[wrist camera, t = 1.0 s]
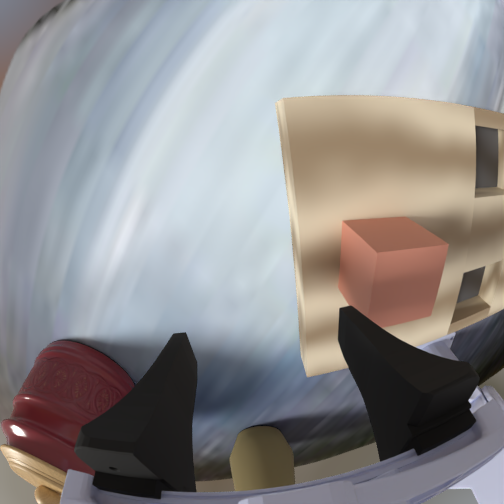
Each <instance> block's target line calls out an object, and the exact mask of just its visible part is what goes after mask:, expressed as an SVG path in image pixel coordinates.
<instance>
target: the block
mask: <svg viewBox="0 0 504 504" xmlns="http://www.w3.org/2000/svg"><path fill="white" fill-rule="evenodd" d="M448 246H449V244H448V243H446V242H445V241H443V240H442V239H440V238H439V237H437V236H436V235H434V234H433V233H431V232H430V231H428V230H426V229H425V228H423V227H422V226H420V225H419V224H417V223H415V222H414V221H412V220H410V219H409V218H407V217H390V218H374V219H359V220H345V221H342V237H341V255H340V269H339V282H338V289H339V290H340V292H341V293H342V295H343V297H344V298H345V300H346V302H347V303H348V305H349V306H350V305H352V306H353V307H354V308H356V309H357V310H358V311H360V312H361V313H362V314H363V315H365V316H366V317H367V318H369V319H370V320H371V321H373V322H374V323H376V324H377V325H378V326H380V327H381V328H384V327H388V326H393V325H397V324H401V323H406V322H410V321H414V320H418V319H422V318H425V317H429V316H431V314H432V310H433V307H434V304H435V300H436V297H437V293H438V289H439V286H440V282H441V278H442V274H443V269H444V265H445V260H446V256H447V251H448Z"/></svg>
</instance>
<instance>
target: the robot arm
mask: <svg viewBox="0 0 504 504" xmlns="http://www.w3.org/2000/svg"><path fill="white" fill-rule="evenodd" d="M454 337H455V332H453V333H451V334H448V335H446V336H443V337H441V338H438V339H436V340H433V341H431V342H428V343H425V344H423V345H420V346H417V347H414V346H412V345H410V344H408V343H406V342H404V341H402V340H400V339H399V338H397V337H395V336H394V335H392V334H390V333H389V332H387V331H386V330H384V329H383V328H381V327H380V326H378V325H377V324H376V323H374V322H373V321H371V320H370V319H369V318H367V317H366V316H365V315H363V314H362V313H361V312H360V311H358V310H357V309H356V308H354V307H353V306H352V305H350V306H346V307H341V308H339V326H338V342H339V345H340V348H341V351H342V354H343V357H344V359H345V361H346V363H347V365H348V367H349V370H350V372H351V374H352V376H353V378H354V380H355V382H356V384H357V386H358V388H359V390H360V392H361V394H362V397H363V399H364V402H365V405H366V408H367V411H368V415H369V418H370V421H371V425H372V428H373V432H374V436H375V440H376V443H377V448H378V453H379V458H380V462H378V463H375V464H373V465H370V466H366V467H364V468H360V469H357V470H354V471H351V472H347V473H343V474H340V475H336V476H332V477H328V478H324V479H320V480H315V481H310V482H305V483H300V484H294V485H288V486H282V487H275V488H267V489H258V490H248V491H234V492H196V484H195V476H194V465H193V448H192V420H193V411H194V403H195V395H196V387H197V361H196V358H195V356H194V353H193V350H192V348H191V345H190V342H189V340H188V337H187V334H186V332H185V333H176V334H173V335H172V337H171V338H170V340H169V341H168V343H167V344H166V346H165V347H164V349H163V350H162V352H161V353H160V355H159V356H158V358H157V359H156V360H155V362H154V363H153V365H152V366H151V367H150V369H149V370H148V371H147V373H146V374H145V375H144V376H143V378H142V379H141V380H140V381H139V382H138V383H137V385H136V386H135V387H134V388H133V389H132V390H131V391H130V392H129V393H128V394H127V395H126V396H124V397H123V398H122V399H121V400H120V401H119V402H118V403H116V404H115V405H114V406H113V407H111V408H110V409H109V410H107V411H106V412H105V413H103V414H102V415H100V416H99V417H97V418H95V419H94V420H92V421H90V422H89V423H87V424H85V425H83V426H81V429H80V432H79V435H78V438H77V441H76V444H75V447H74V452H75V453H76V455H77V456H78V457H79V458H80V459H81V460H82V461H83V462H84V463H86V464H87V465H88V466H89V467H91V468H92V469H93V470H95V475H94V476H92V475H90V474H87V473H83V472H79V471H75V470H71V469H68V472H67V475H66V479H65V483H64V487H63V491H62V495H61V499H60V504H421V503H423V502H425V501H427V500H429V499H431V498H433V497H435V496H436V495H438V494H440V493H442V492H444V491H445V490H447V489H472V491H473V493H474V495H475V498H476V500H477V502H478V504H504V400H503V399H502V398H501V397H500V395H499V394H498V393H497V391H496V390H495V389H494V388H493V387H492V386H484V387H483V388H482V389H481V388H479V387H478V386H477V385H478V383H479V375H478V374H477V373H476V371H475V370H474V369H473V367H472V366H471V365H470V364H469V363H468V362H462V361H459V360H458V359H457V357H456V356H455V355H454V353H453V352H452V351H451V350H450V348H451V345H452V342H453V339H454Z"/></svg>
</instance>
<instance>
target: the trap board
mask: <svg viewBox="0 0 504 504" xmlns="http://www.w3.org/2000/svg"><path fill="white" fill-rule="evenodd" d="M275 106H276V113H277V120H278V126H279V134H280V141H281V148H282V156H283V164H284V172H285V180H286V188H287V197H288V206H289V215H290V225H291V235H292V245H293V256H294V267H295V279H296V291H297V304H298V318H299V334H300V351H301V357H302V361H303V364H304V368H305V371H306V375H307V377H311V376H315V375H320V374H324V373H329V372H333V371H337V370H341V369H345V368H349V367H348V365H347V363H346V361H345V359H344V357H343V354H342V351H341V348H340V345H339V342H338V326H339V308H341V307H346V306H349V305H348V303H347V302H346V300H345V298H344V297H343V295H342V293H341V292H340V290H339V289H338V282H339V269H340V255H341V237H342V221H345V220H359V219H374V218H390V217H407V218H409V219H410V220H412V221H414V222H415V223H417V224H419V225H420V226H422V227H423V228H425V229H426V230H428V231H430V232H431V233H433V234H434V235H436V236H437V237H439V238H440V239H442V240H443V241H445V242H446V243H448V244H449V246H448V251H447V256H446V260H445V265H444V269H443V274H442V278H441V282H440V286H439V289H438V293H437V297H436V300H435V304H434V307H433V310H432V314H431V316H429V317H425V318H422V319H418V320H414V321H410V322H406V323H401V324H397V325H393V326H388V327H384V328H383V329H384V330H386V331H387V332H389V333H390V334H392V335H394V336H395V337H397V338H399V339H400V340H402V341H404V342H406V343H408V344H410V345H412V346H414V347H417V346H420V345H423V344H425V343H428V342H431V341H433V340H436V339H438V338H441V337H443V336H446V335H448V334H451V333H453V332H455V331H458V330H460V329H462V328H465V327H467V326H469V325H471V324H474V323H476V322H478V321H480V320H482V319H484V318H486V317H488V316H491V315H493V314H495V313H497V312H498V311H500V310H502V309H504V114H502V113H498V112H494V111H490V110H485V109H481V108H476V107H471V106H465V105H460V104H454V103H447V102H441V101H433V100H425V99H415V98H404V97H389V96H365V95H332V96H307V97H292V98H283V99H281V100H279V101H278V102H276V103H275Z"/></svg>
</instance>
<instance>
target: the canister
mask: <svg viewBox="0 0 504 504" xmlns="http://www.w3.org/2000/svg"><path fill="white" fill-rule="evenodd" d="M134 387H135V384H134V383H133V381H132V379H131V378H130V377H129V375H128V374H127V373H126V372H125V371H124V370H123V369H122V368H121V367H120V366H119V365H118V364H116V363H115V362H114V361H113V360H111V359H110V358H108V357H107V356H105V355H104V354H102V353H100V352H99V351H97V350H95V349H93V348H91V347H88V346H86V345H83V344H80V343H76V342H72V341H55V342H52V343H50V344H49V345H48V346H47V347H46V348H45V349H43V350H42V351H41V352H40V354H39V355H38V357H37V358H36V360H35V363H34V366H33V368H32V370H31V371H30V373H29V375H28V377H27V378H26V380H25V382H24V384H23V385H22V387H21V389H20V391H19V393H18V394H17V395H16V396H15V397H14V399H13V407H14V409H13V412H12V414H11V417H10V418H9V419H4V420H3V421H2V422H1V428H2V430H3V433H4V434H5V436H6V438H7V444H3V445H1V448H0V449H1V451H2V453H3V454H4V456H5V457H6V459H7V460H8V462H9V465H10V467H11V469H12V470H13V471H14V472H15V473H17V474H18V475H19V476H20V477H22V478H23V479H25V480H26V481H27V482H29V483H30V484H32V485H34V486H35V487H37V488H36V490H35V498H36V501H37V502H38V503H39V504H60V499H61V495H62V491H63V487H64V483H65V479H66V475H67V472H68V469H71V470H75V471H79V472H83V473H87V474H90V475H92V476H94V475H95V470H93V469H92V468H91V467H89V466H88V465H87V464H86V463H84V462H83V461H82V460H81V459H80V458H79V457H78V456H77V455H76V453H75V452H74V447H75V444H76V441H77V438H78V435H79V432H80V429H81V426H83V425H85V424H87V423H89V422H90V421H92V420H94V419H95V418H97V417H99V416H100V415H102V414H103V413H105V412H106V411H107V410H109V409H110V408H111V407H113V406H114V405H115V404H116V403H118V402H119V401H120V400H121V399H122V398H123V397H124V396H126V395H127V394H128V393H129V392H130V391H131V390H132V389H133V388H134Z"/></svg>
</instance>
